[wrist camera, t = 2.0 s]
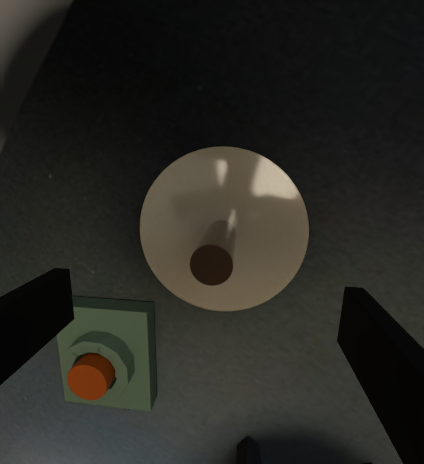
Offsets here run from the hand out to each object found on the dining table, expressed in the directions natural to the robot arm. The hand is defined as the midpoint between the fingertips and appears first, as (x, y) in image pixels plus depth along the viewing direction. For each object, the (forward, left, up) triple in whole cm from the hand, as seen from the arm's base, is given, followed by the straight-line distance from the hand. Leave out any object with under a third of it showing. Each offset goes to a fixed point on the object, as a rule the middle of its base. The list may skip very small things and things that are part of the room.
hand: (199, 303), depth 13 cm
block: (+14, -12, -14) cm, 23 cm away
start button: (+14, -12, -10) cm, 21 cm away
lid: (0, 0, -13) cm, 13 cm away
